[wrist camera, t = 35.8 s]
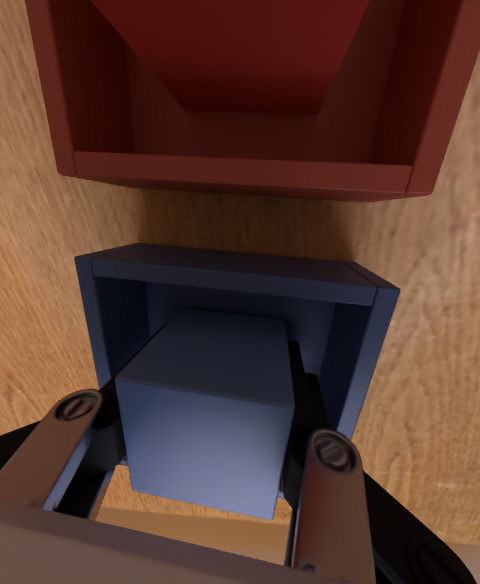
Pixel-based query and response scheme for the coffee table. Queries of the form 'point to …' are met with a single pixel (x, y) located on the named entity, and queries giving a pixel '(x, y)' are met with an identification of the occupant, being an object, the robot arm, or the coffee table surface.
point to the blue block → (210, 411)
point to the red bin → (259, 125)
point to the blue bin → (243, 309)
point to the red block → (240, 49)
